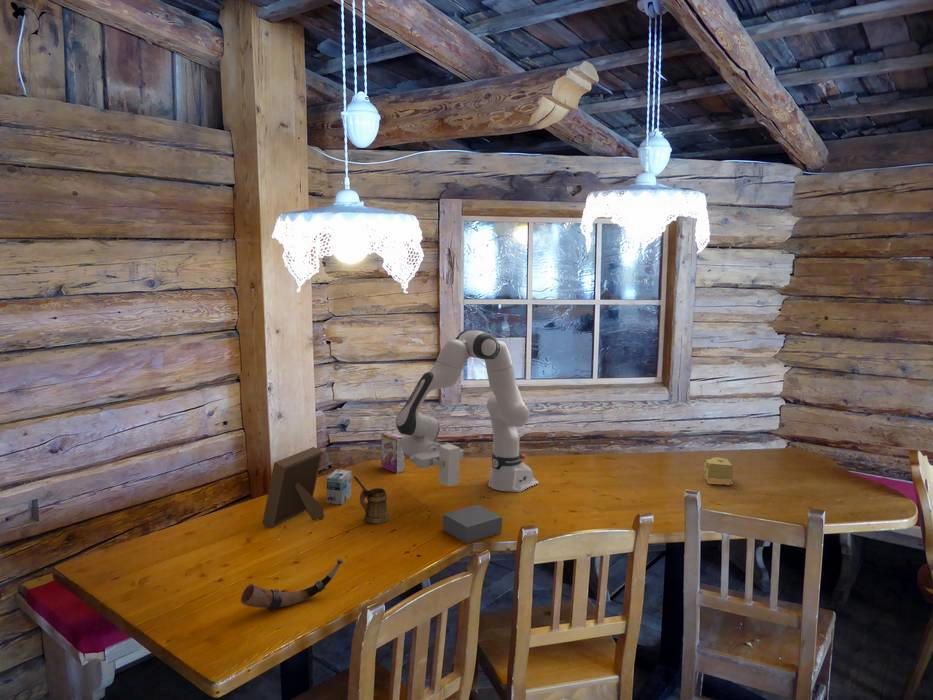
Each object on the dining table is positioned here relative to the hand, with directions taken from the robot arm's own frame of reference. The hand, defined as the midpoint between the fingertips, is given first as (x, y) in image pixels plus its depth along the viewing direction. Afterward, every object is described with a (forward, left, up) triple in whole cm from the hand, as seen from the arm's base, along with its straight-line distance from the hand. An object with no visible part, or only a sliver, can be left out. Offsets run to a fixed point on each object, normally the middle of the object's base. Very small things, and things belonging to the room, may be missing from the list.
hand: (450, 462), depth 259 cm
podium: (0, +14, -22) cm, 26 cm away
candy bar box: (-12, -59, -22) cm, 64 cm away
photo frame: (+47, -30, -22) cm, 60 cm away
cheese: (-125, +34, -22) cm, 131 cm away
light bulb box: (+25, -40, -22) cm, 52 cm away
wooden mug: (+25, -15, -22) cm, 37 cm away
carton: (0, -1, -8) cm, 8 cm away
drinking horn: (+73, +24, -22) cm, 80 cm away
